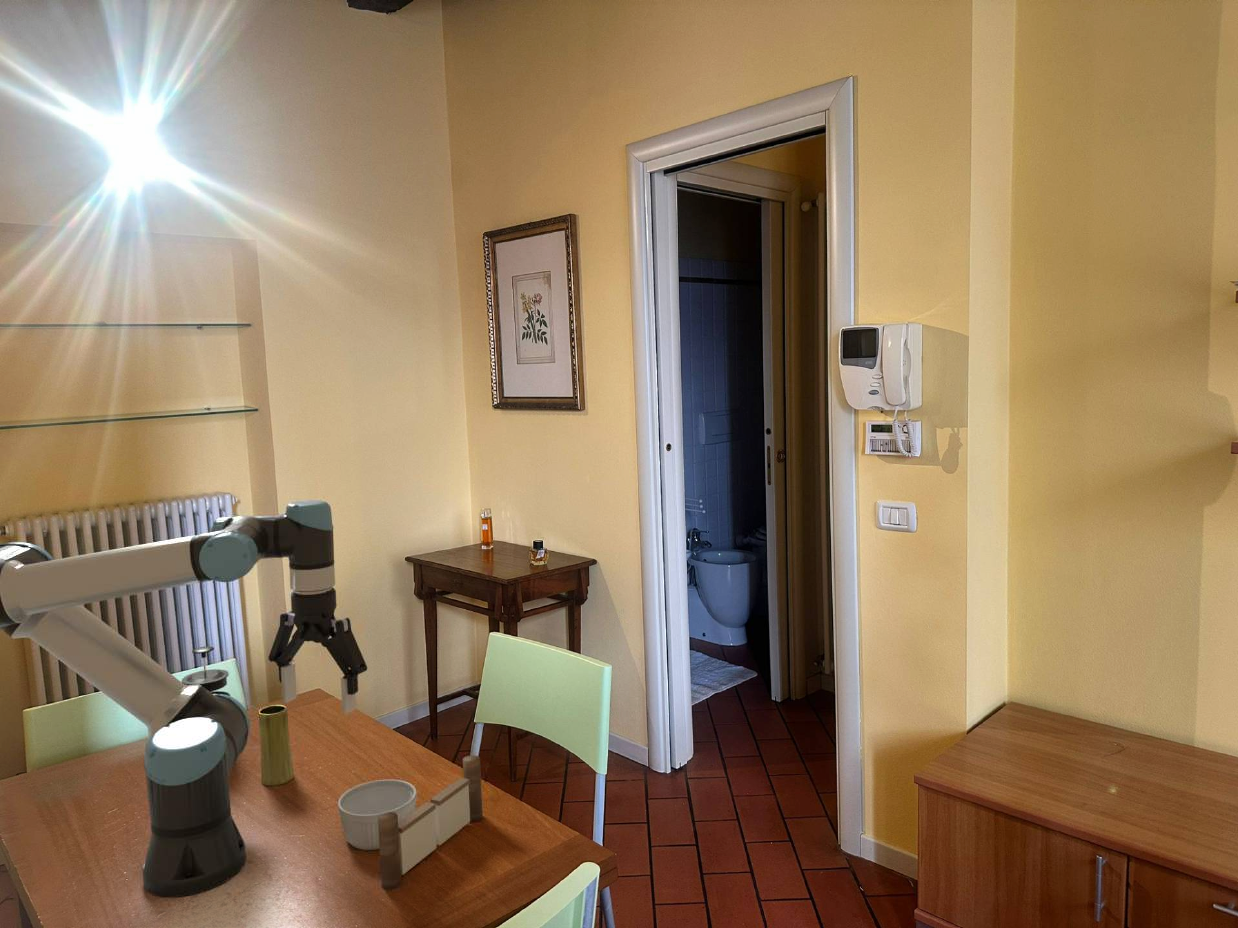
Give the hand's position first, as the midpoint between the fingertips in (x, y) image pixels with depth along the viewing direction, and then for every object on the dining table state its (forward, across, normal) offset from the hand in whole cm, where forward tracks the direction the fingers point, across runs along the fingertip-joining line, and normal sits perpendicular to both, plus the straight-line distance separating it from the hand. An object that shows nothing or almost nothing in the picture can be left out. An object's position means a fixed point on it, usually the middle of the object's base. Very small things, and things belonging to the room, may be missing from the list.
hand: (319, 705), depth 159 cm
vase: (+21, +19, -8) cm, 30 cm away
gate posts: (+20, -25, +2) cm, 33 cm away
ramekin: (+21, -13, +1) cm, 25 cm away
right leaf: (+20, -26, -3) cm, 32 cm away
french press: (+21, +41, -12) cm, 48 cm away
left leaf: (+20, -25, +7) cm, 33 cm away
